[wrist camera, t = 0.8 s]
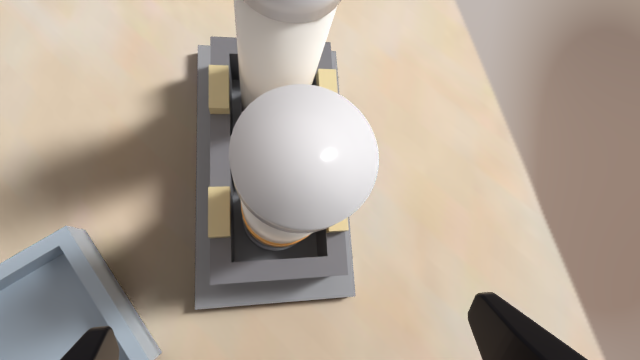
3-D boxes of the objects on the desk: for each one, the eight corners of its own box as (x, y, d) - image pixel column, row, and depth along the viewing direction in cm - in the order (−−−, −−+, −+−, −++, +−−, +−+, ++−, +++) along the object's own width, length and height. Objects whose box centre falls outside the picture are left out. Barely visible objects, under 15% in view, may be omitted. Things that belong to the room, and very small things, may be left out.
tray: (162, 352, 20) (151, 362, 18) (9, 462, 18) (-25, 489, 15) (85, 229, 20) (65, 225, 18) (-71, 321, 18) (-114, 328, 16)
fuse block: (351, 295, 22) (376, 302, 18) (196, 308, 21) (181, 319, 16) (333, 57, 26) (350, 14, 21) (199, 52, 24) (187, 4, 20)
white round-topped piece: (319, 226, 22) (407, 174, 10) (266, 264, 21) (287, 261, 9) (283, 175, 22) (323, 59, 10) (230, 209, 21) (197, 130, 9)
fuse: (313, 125, 23) (381, -36, 11) (263, 156, 22) (275, 16, 10) (279, 78, 24) (308, -130, 11) (228, 106, 23) (198, -89, 10)
